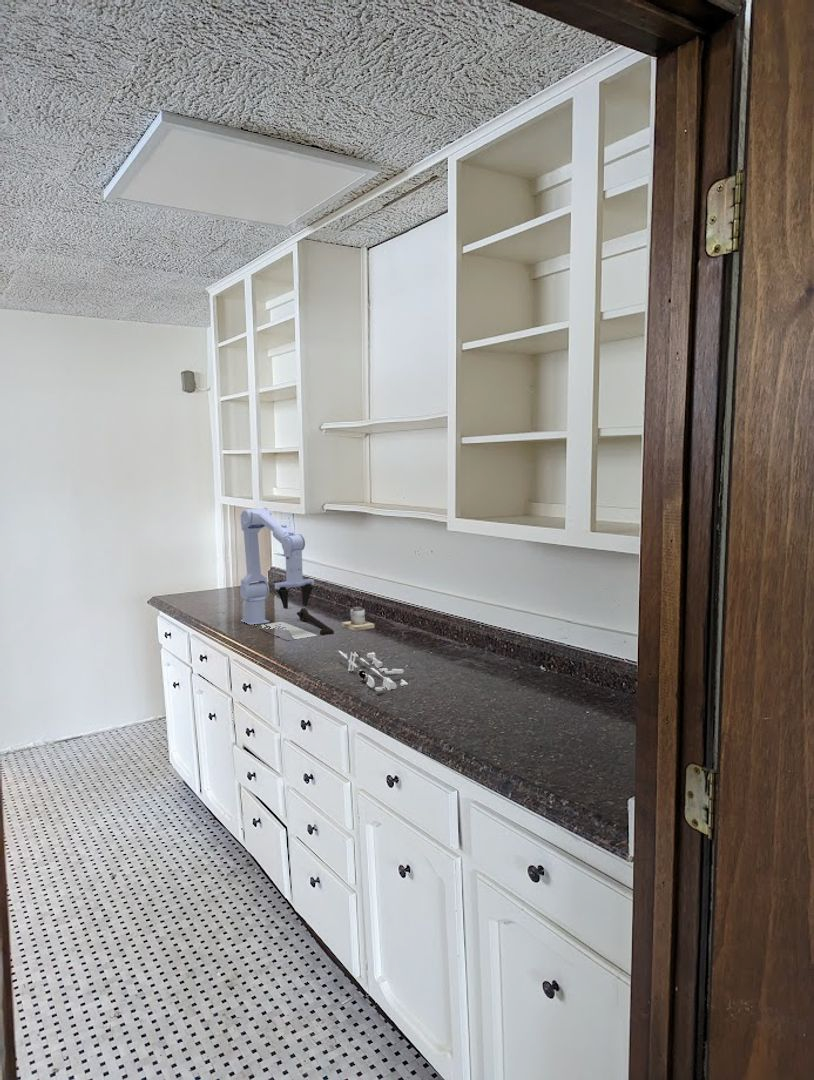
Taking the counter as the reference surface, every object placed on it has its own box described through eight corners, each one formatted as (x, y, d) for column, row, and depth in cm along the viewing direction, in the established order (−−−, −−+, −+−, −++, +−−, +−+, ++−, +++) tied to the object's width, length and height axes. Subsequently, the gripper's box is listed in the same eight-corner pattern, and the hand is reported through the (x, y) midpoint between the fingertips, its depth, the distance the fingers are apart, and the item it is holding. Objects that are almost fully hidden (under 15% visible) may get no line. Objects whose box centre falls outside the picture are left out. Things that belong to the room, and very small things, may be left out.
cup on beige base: (341, 626, 262) (341, 607, 262) (359, 623, 267) (359, 604, 266) (356, 631, 254) (355, 611, 254) (374, 628, 259) (374, 608, 258)
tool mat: (252, 626, 264) (252, 626, 264) (281, 622, 271) (281, 621, 271) (287, 641, 242) (287, 640, 241) (317, 635, 249) (317, 635, 249)
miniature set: (332, 660, 215) (369, 661, 220) (375, 701, 184) (416, 701, 189) (335, 639, 215) (372, 641, 220) (378, 677, 183) (420, 678, 188)
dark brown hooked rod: (320, 641, 249) (289, 619, 275) (334, 640, 252) (301, 618, 277) (321, 626, 248) (290, 606, 274) (335, 625, 251) (302, 606, 276)
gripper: (280, 572, 242) (281, 611, 243) (317, 568, 250) (318, 606, 252) (271, 570, 247) (272, 608, 249) (308, 566, 256) (309, 603, 257)
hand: (295, 607), depth 251 cm, fingers open, 7 cm apart
